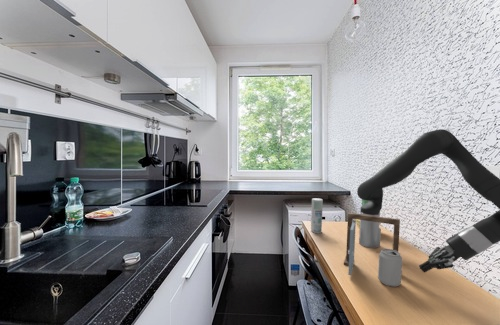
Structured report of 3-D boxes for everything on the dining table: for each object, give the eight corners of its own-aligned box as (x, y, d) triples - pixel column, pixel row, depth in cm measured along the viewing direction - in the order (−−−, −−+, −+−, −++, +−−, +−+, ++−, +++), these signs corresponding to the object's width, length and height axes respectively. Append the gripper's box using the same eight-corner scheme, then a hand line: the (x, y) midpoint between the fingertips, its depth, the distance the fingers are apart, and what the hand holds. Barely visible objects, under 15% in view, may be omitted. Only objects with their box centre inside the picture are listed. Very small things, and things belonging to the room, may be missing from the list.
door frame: (343, 264, 102) (345, 214, 101) (345, 257, 109) (347, 210, 108) (399, 277, 92) (402, 222, 91) (397, 268, 99) (400, 217, 98)
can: (404, 289, 84) (406, 256, 84) (381, 286, 86) (383, 254, 85) (396, 278, 91) (397, 248, 91) (375, 275, 93) (376, 246, 92)
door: (350, 260, 104) (352, 220, 103) (355, 261, 103) (357, 220, 102) (347, 274, 91) (348, 229, 90) (352, 275, 90) (354, 230, 89)
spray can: (313, 233, 140) (314, 200, 139) (308, 229, 147) (309, 198, 146) (323, 232, 142) (324, 200, 141) (318, 229, 148) (319, 198, 147)
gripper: (452, 227, 84) (410, 253, 91) (465, 239, 73) (415, 268, 79) (471, 245, 82) (426, 270, 88) (487, 260, 70) (434, 288, 77)
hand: (421, 269), depth 84 cm, fingers closed
